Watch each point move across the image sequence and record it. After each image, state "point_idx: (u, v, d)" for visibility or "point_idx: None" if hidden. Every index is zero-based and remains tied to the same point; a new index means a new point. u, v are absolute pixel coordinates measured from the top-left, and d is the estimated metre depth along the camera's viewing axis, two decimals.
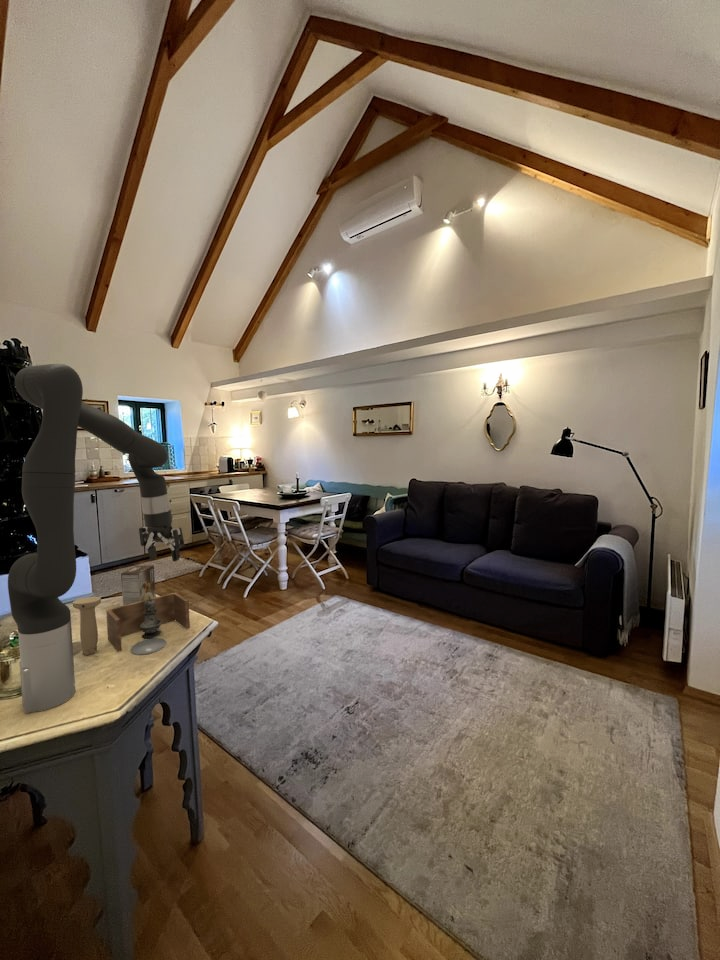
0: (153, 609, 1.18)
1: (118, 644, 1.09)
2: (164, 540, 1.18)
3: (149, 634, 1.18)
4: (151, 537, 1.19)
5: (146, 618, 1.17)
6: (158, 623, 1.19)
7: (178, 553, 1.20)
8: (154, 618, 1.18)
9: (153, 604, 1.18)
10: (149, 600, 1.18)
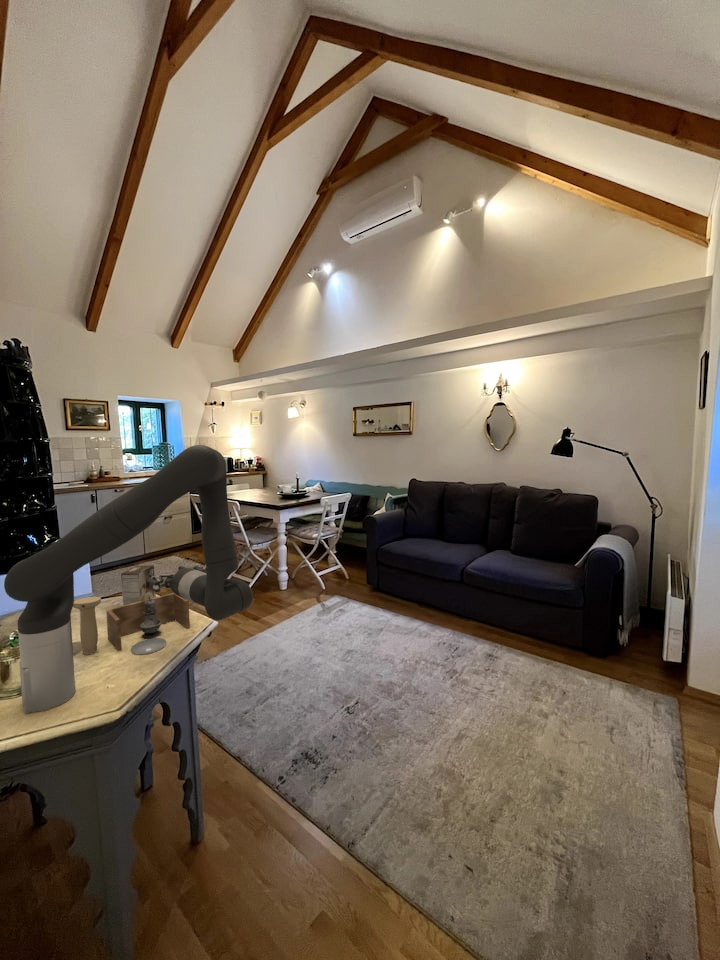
0: (153, 609, 1.18)
1: (118, 644, 1.09)
2: (166, 574, 1.04)
3: (149, 634, 1.18)
4: None
5: (146, 618, 1.17)
6: (158, 623, 1.19)
7: None
8: (154, 618, 1.18)
9: (153, 604, 1.18)
10: (149, 600, 1.18)
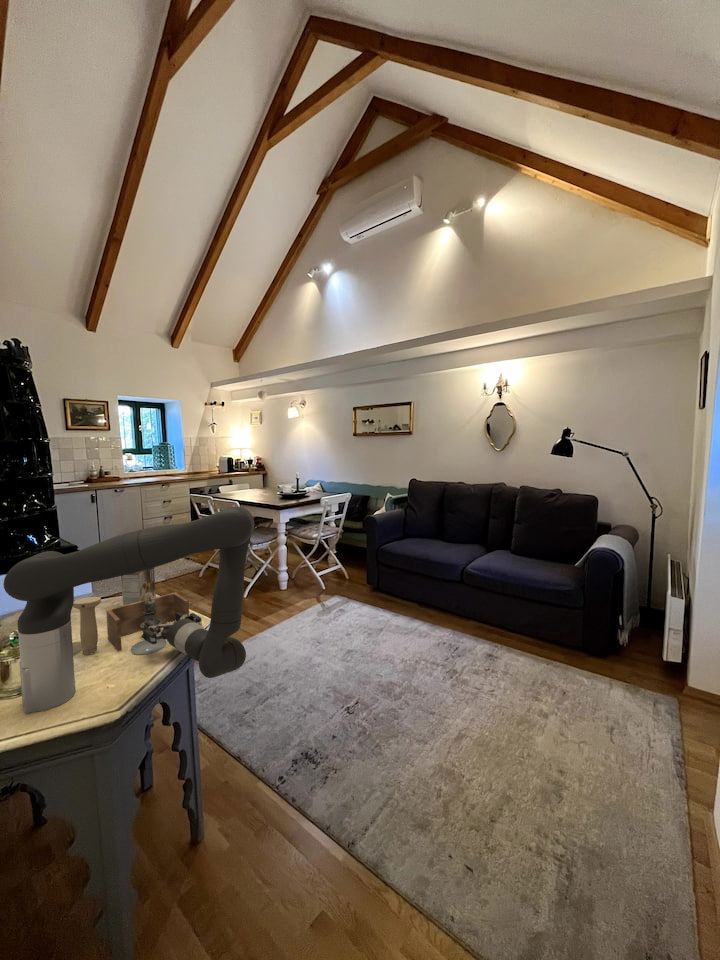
0: (153, 609, 1.18)
1: (118, 644, 1.09)
2: (163, 625, 1.07)
3: None
4: None
5: (146, 618, 1.17)
6: (158, 623, 1.19)
7: None
8: (154, 618, 1.18)
9: (153, 604, 1.18)
10: (149, 600, 1.18)
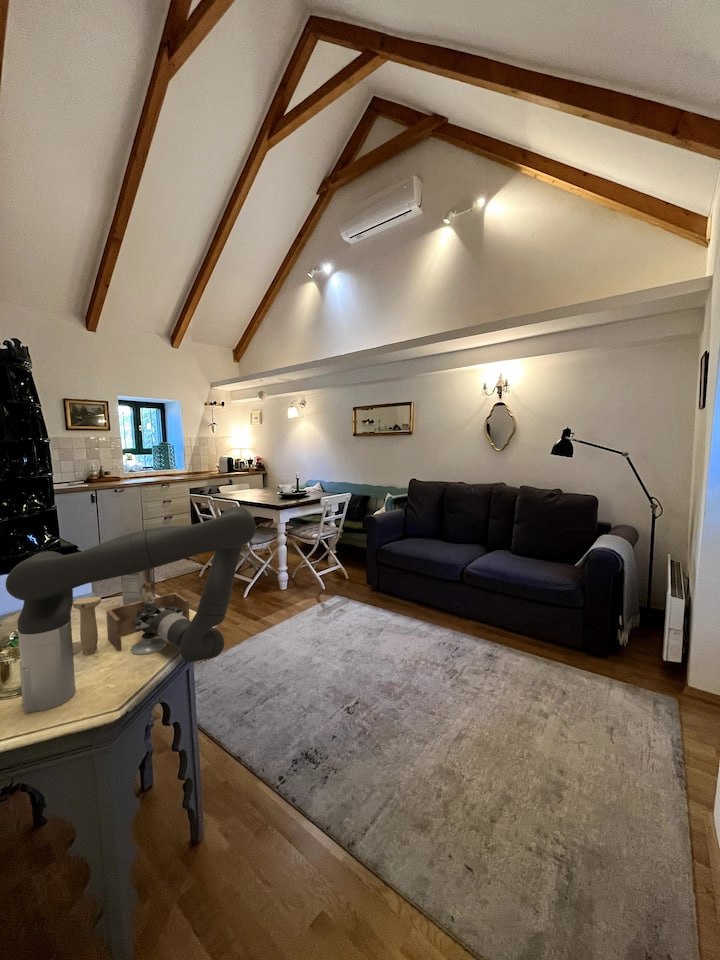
0: (153, 609, 1.18)
1: (118, 644, 1.09)
2: (150, 614, 1.14)
3: (149, 634, 1.18)
4: (163, 611, 1.16)
5: None
6: None
7: None
8: None
9: (153, 604, 1.18)
10: (149, 600, 1.18)
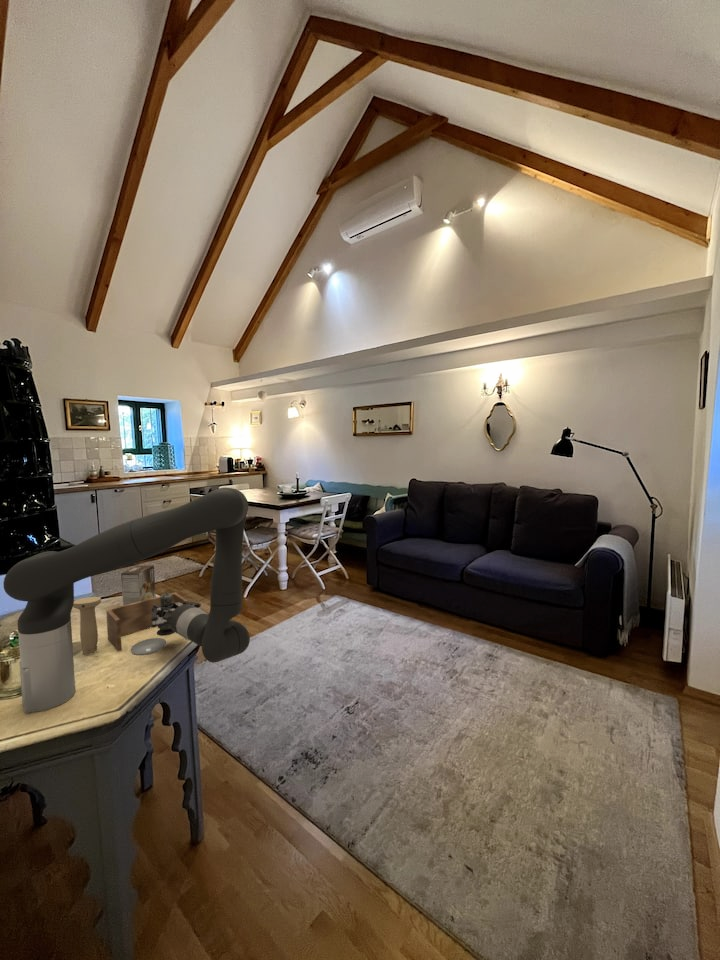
0: (170, 604, 1.10)
1: (118, 644, 1.09)
2: (167, 609, 1.06)
3: (165, 630, 1.10)
4: (180, 606, 1.08)
5: None
6: None
7: None
8: None
9: (170, 598, 1.10)
10: (165, 594, 1.10)
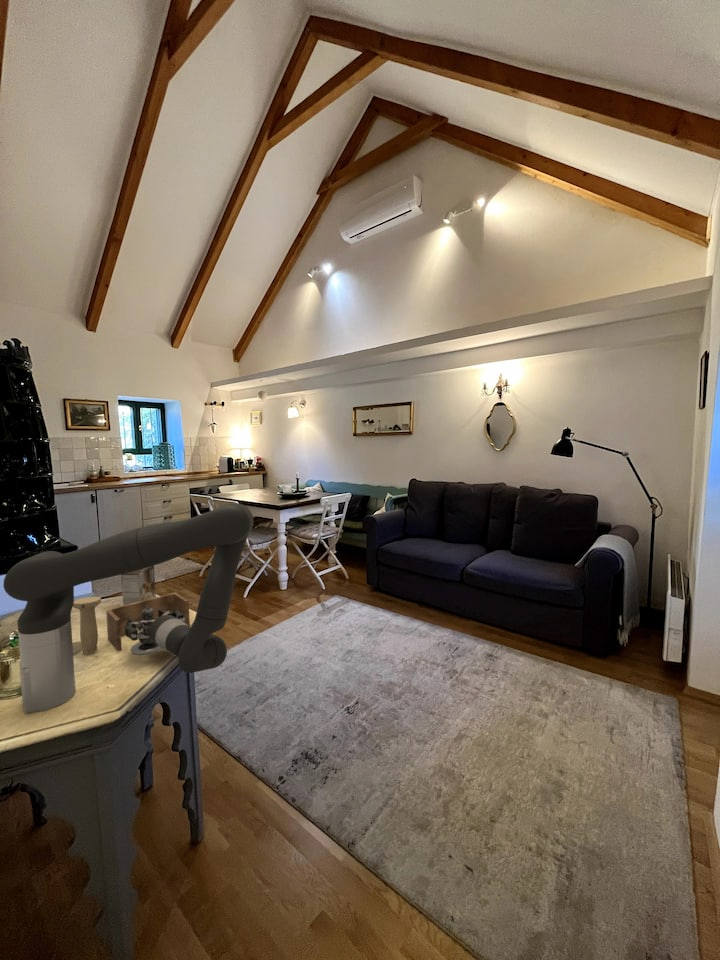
0: (151, 618, 1.11)
1: (118, 644, 1.09)
2: (145, 621, 1.06)
3: (147, 645, 1.11)
4: (163, 616, 1.09)
5: None
6: None
7: None
8: None
9: (151, 613, 1.11)
10: (147, 608, 1.10)
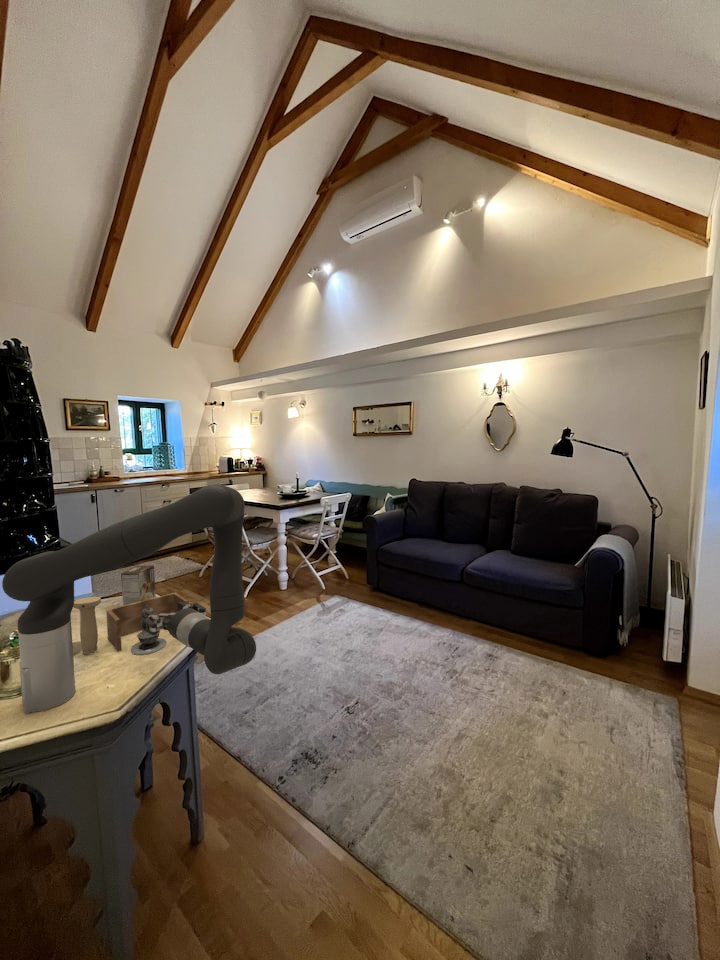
0: None
1: (118, 644, 1.09)
2: (164, 614, 0.98)
3: (147, 645, 1.11)
4: None
5: None
6: None
7: None
8: None
9: None
10: (147, 608, 1.11)
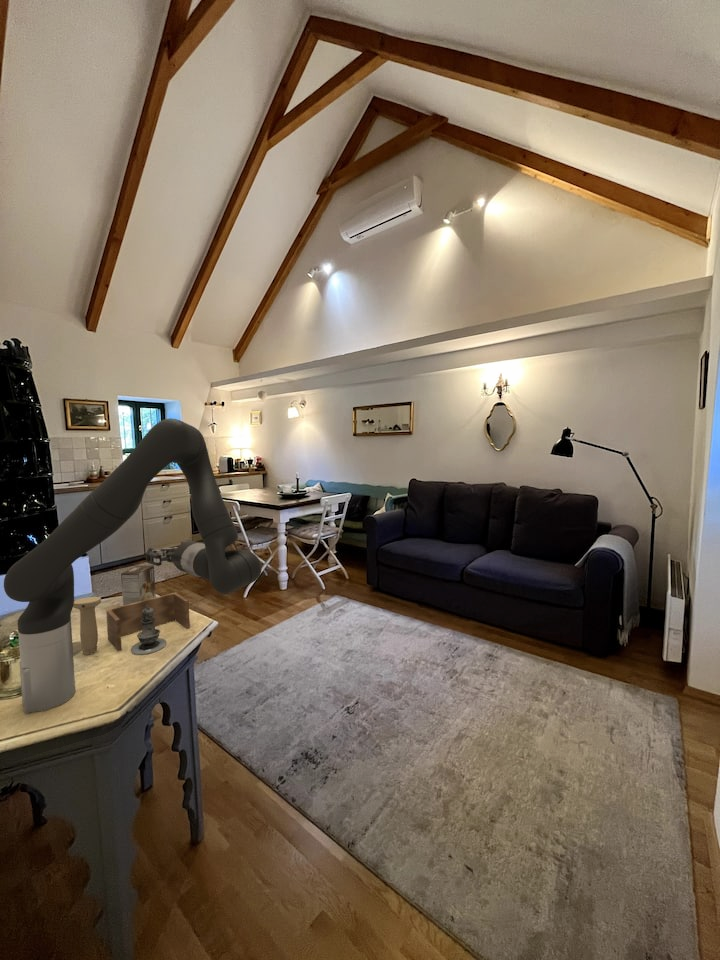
0: (151, 618, 1.11)
1: (118, 644, 1.09)
2: (168, 548, 0.97)
3: (147, 645, 1.11)
4: None
5: (144, 628, 1.10)
6: (156, 633, 1.11)
7: None
8: (152, 627, 1.11)
9: (151, 613, 1.11)
10: (147, 608, 1.11)
